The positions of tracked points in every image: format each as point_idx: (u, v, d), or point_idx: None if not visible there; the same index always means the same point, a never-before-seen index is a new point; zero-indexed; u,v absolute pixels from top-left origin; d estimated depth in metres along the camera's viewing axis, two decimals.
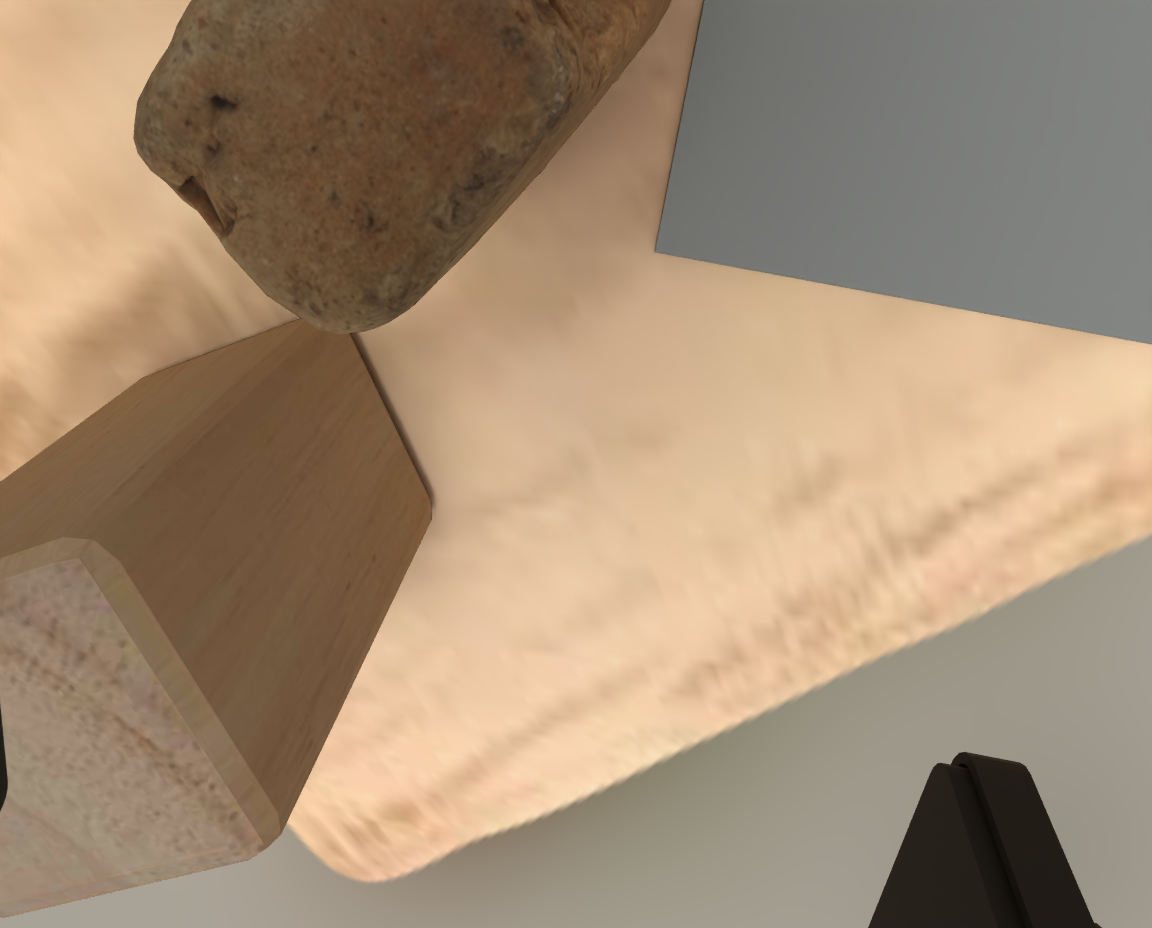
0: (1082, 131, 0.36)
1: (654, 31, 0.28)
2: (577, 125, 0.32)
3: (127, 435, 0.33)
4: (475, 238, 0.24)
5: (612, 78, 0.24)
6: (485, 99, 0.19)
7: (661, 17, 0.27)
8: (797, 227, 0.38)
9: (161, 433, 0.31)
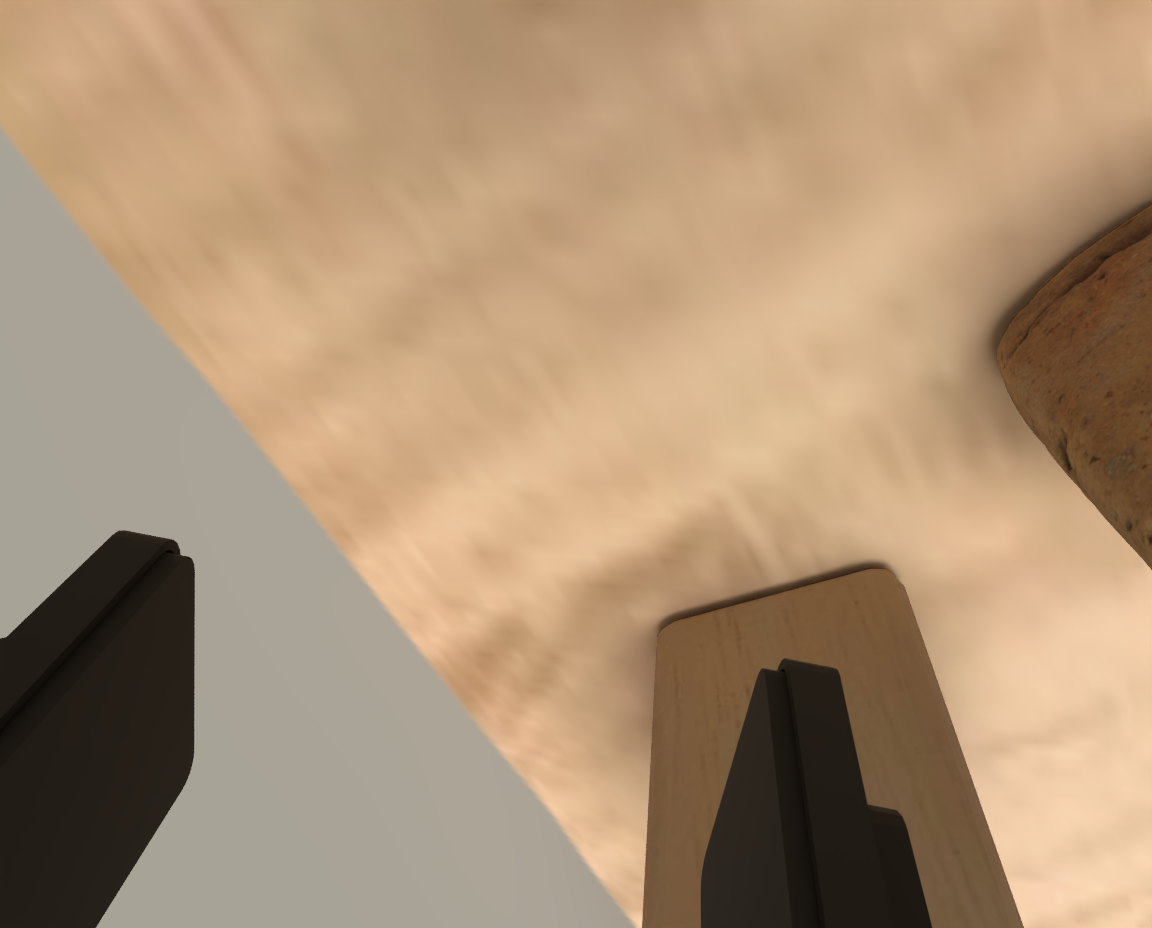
0: None
1: None
2: None
3: None
4: None
5: None
6: None
7: None
8: None
9: (894, 778, 0.30)
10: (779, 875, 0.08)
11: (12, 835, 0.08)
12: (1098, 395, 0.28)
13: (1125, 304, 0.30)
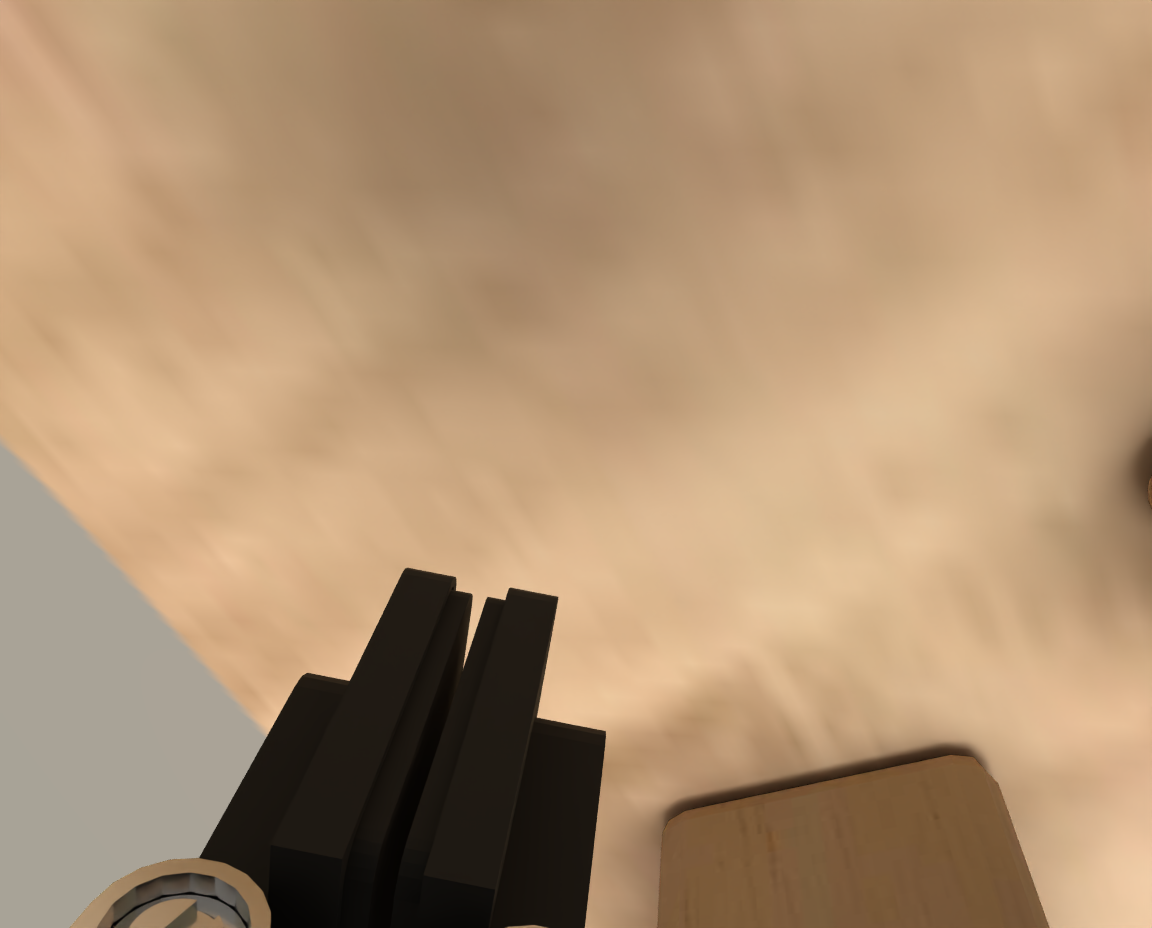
0: None
1: None
2: None
3: None
4: None
5: None
6: None
7: None
8: None
9: None
10: None
11: (387, 876, 0.08)
12: None
13: None
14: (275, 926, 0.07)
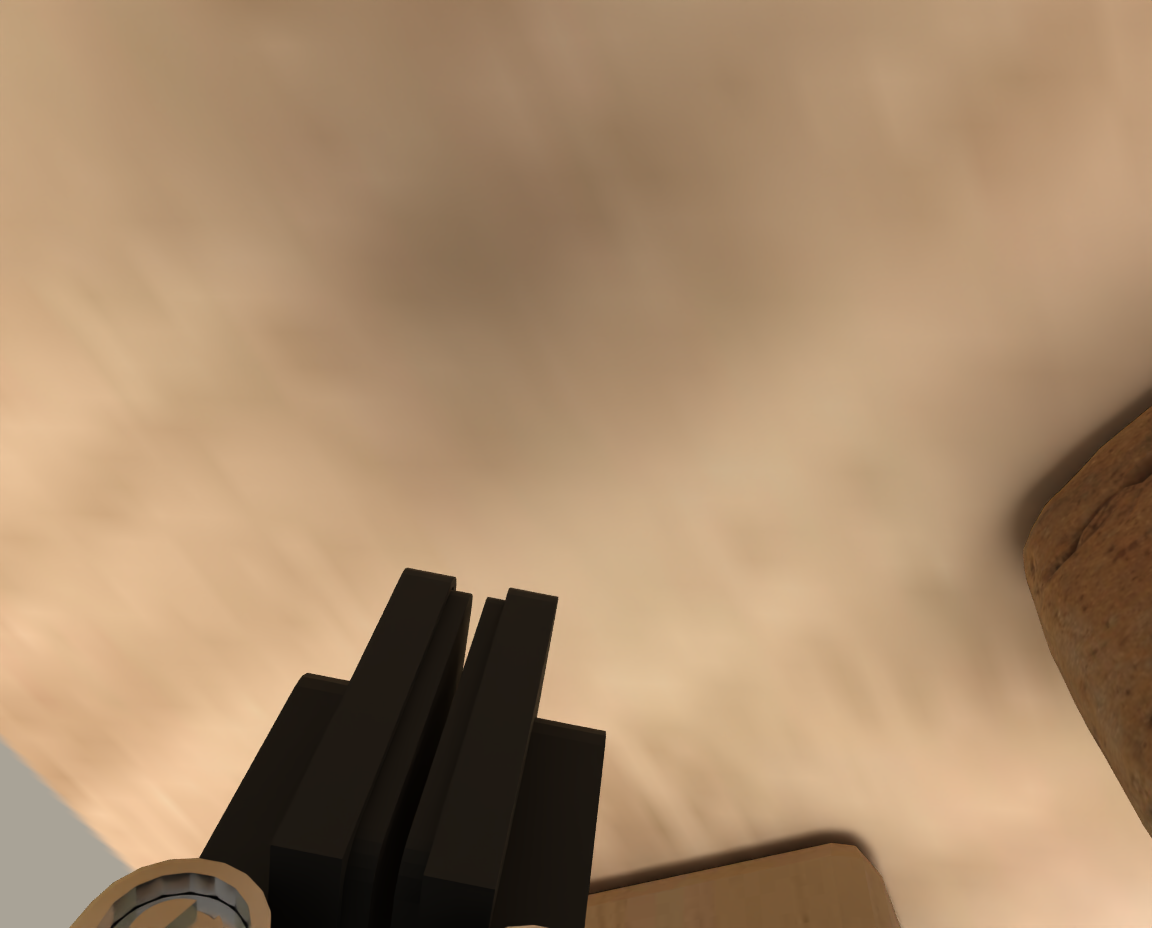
0: None
1: None
2: None
3: None
4: None
5: None
6: None
7: None
8: None
9: None
10: None
11: (387, 875, 0.08)
12: None
13: None
14: (275, 926, 0.07)
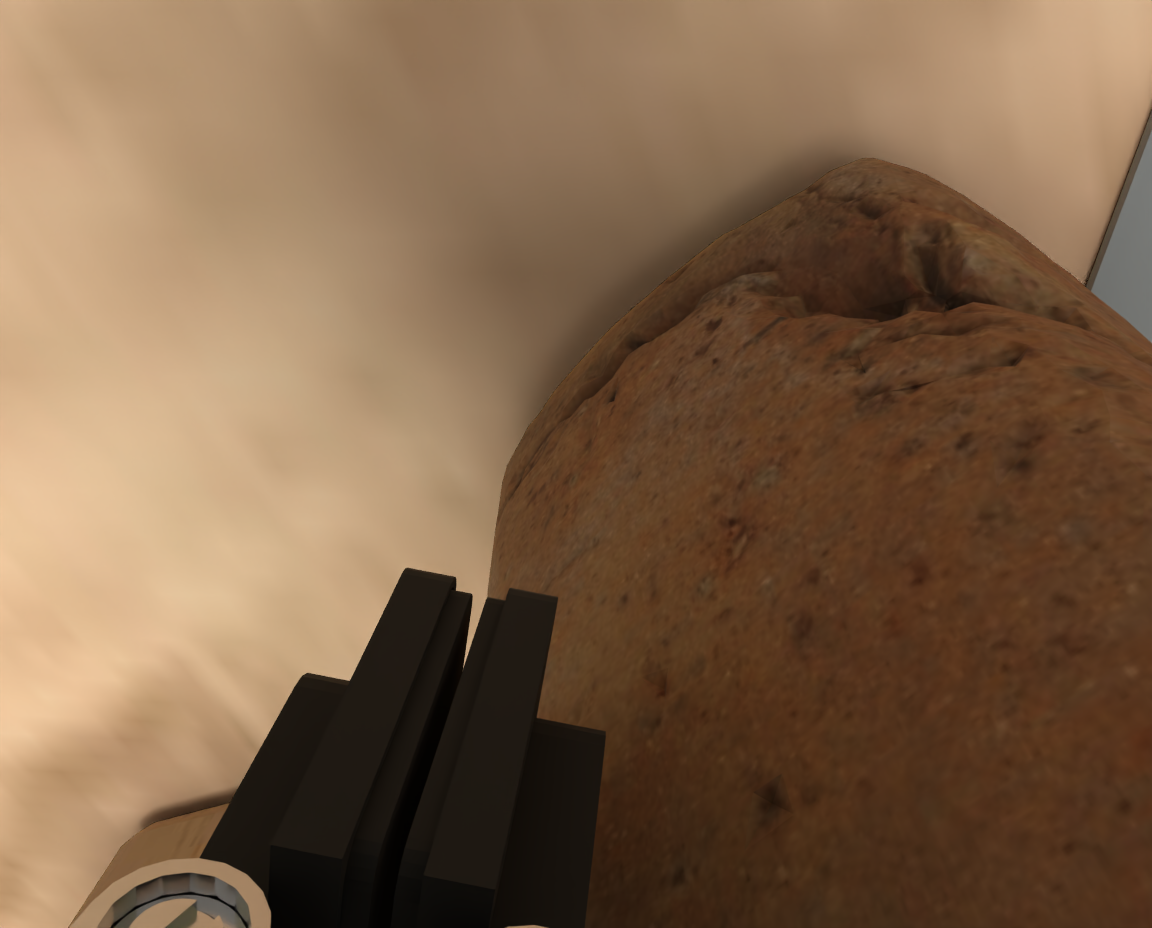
0: None
1: None
2: None
3: None
4: None
5: None
6: None
7: None
8: None
9: None
10: None
11: (387, 876, 0.08)
12: None
13: (614, 485, 0.15)
14: (275, 926, 0.07)
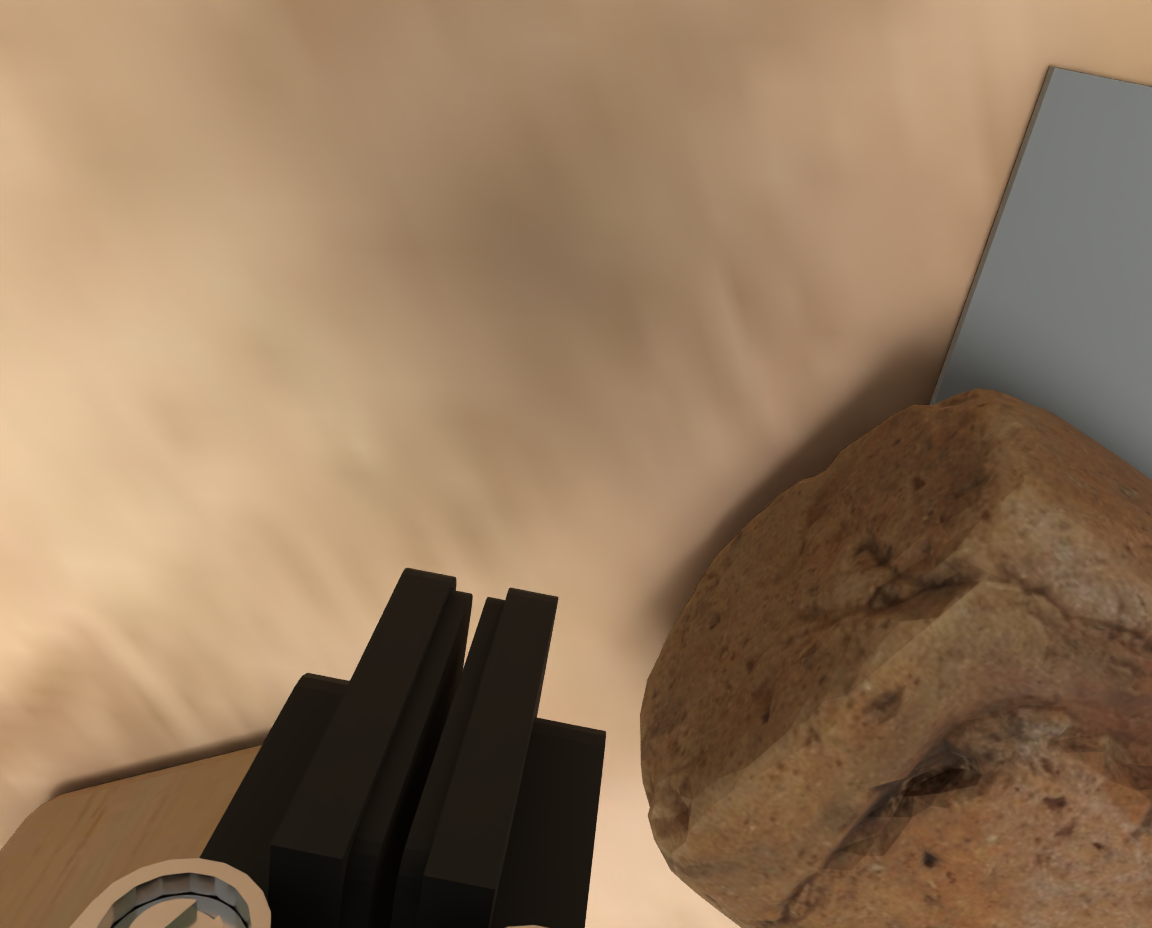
0: None
1: None
2: None
3: None
4: None
5: None
6: None
7: None
8: None
9: None
10: None
11: (387, 876, 0.08)
12: None
13: None
14: (275, 926, 0.07)
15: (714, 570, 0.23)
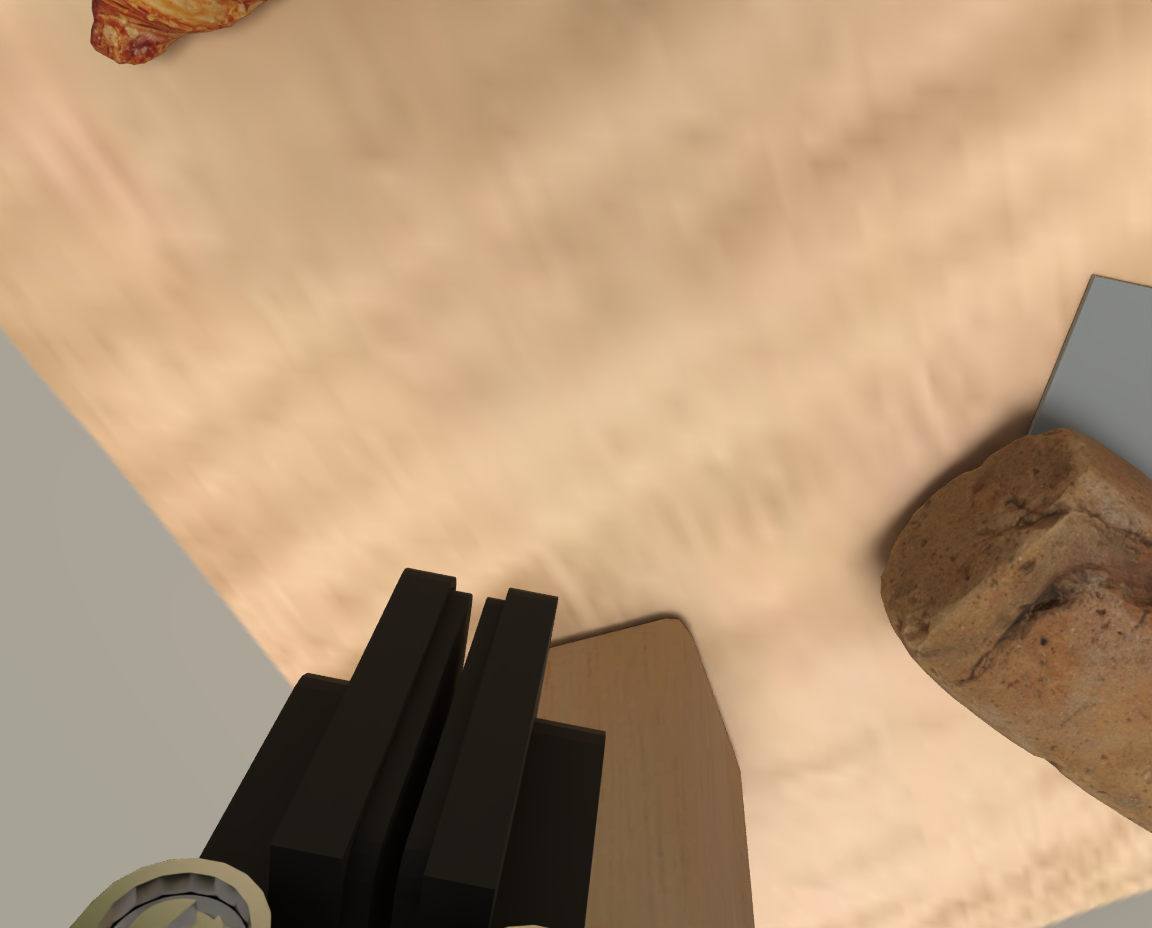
0: None
1: None
2: None
3: None
4: None
5: None
6: None
7: None
8: None
9: (633, 795, 0.37)
10: None
11: (387, 876, 0.08)
12: (1094, 756, 0.40)
13: (1087, 683, 0.39)
14: (275, 926, 0.07)
15: (915, 519, 0.43)
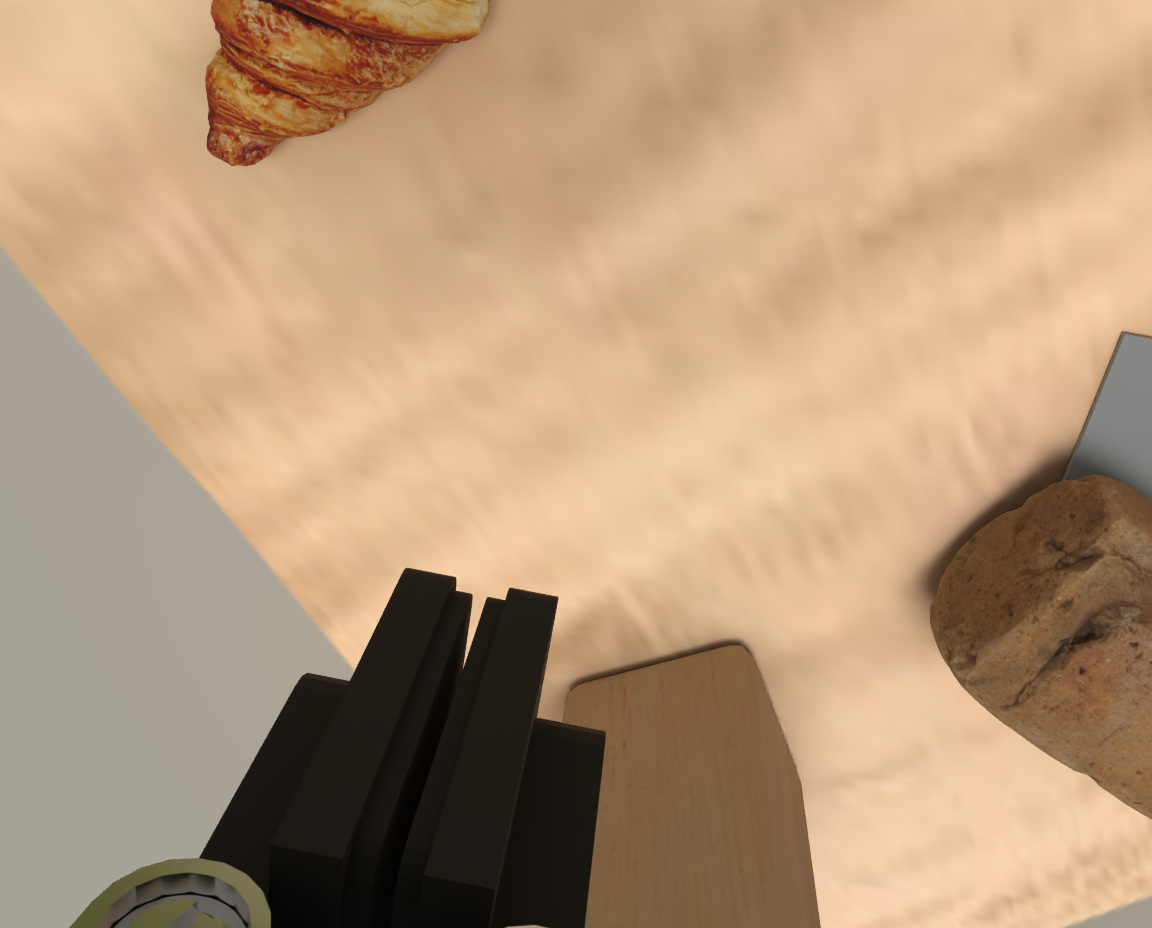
0: None
1: None
2: None
3: (664, 801, 0.43)
4: None
5: None
6: None
7: None
8: None
9: (712, 815, 0.42)
10: None
11: (387, 875, 0.08)
12: (1130, 771, 0.44)
13: (1122, 707, 0.43)
14: (276, 926, 0.07)
15: (961, 555, 0.47)
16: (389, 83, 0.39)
